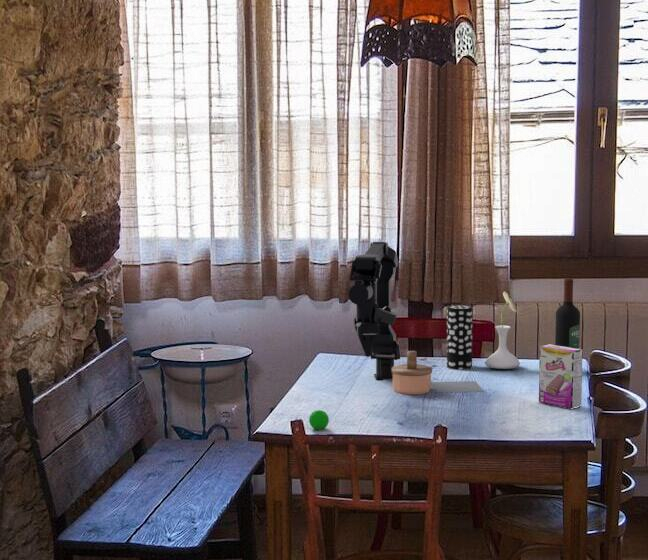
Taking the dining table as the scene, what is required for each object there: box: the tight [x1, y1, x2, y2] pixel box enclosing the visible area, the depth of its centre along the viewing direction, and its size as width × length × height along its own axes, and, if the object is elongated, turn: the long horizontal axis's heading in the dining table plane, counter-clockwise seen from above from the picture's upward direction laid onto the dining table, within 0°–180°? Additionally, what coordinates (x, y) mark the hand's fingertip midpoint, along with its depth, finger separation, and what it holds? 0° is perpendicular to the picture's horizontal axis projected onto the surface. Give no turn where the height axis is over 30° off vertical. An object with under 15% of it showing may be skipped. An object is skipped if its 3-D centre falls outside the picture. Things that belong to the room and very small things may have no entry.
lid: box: [392, 350, 433, 376], centre depth 302 cm, size 12×12×6 cm
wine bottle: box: [554, 278, 581, 349], centre depth 326 cm, size 8×8×30 cm
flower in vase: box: [484, 291, 521, 370], centre depth 334 cm, size 13×11×25 cm
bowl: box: [392, 373, 432, 395], centre depth 303 cm, size 11×11×6 cm
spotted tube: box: [446, 304, 474, 371], centre depth 336 cm, size 8×8×20 cm
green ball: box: [308, 409, 330, 431], centre depth 262 cm, size 5×5×5 cm
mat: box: [431, 380, 485, 394], centre depth 307 cm, size 14×14×1 cm
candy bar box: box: [538, 343, 583, 409], centre depth 284 cm, size 11×5×16 cm, turn 44°
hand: (366, 353), depth 294 cm, fingers open, 9 cm apart
